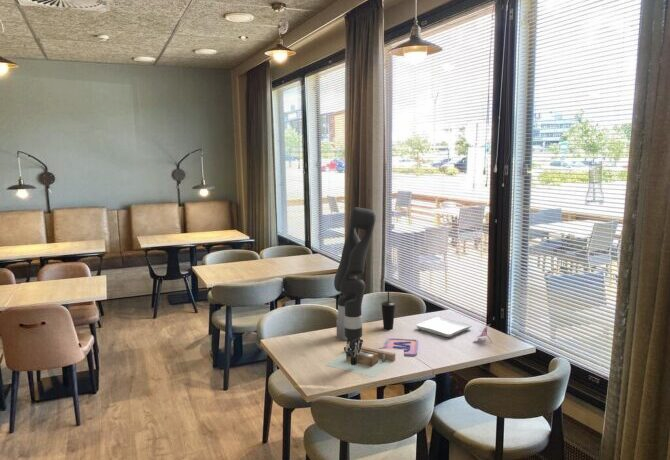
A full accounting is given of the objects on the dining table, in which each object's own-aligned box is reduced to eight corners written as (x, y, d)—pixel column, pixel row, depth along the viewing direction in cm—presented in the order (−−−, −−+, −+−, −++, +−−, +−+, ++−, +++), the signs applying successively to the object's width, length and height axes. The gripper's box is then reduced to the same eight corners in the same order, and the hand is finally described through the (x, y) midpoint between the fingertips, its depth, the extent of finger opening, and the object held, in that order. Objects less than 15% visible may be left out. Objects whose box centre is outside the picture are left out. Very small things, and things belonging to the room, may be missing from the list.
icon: (377, 337, 254) (418, 339, 250) (377, 340, 254) (418, 342, 250) (372, 351, 235) (416, 354, 231) (372, 354, 236) (416, 357, 232)
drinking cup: (391, 331, 264) (391, 294, 261) (378, 329, 268) (378, 292, 265) (398, 327, 270) (398, 290, 267) (385, 325, 274) (385, 288, 271)
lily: (489, 338, 256) (479, 321, 256) (505, 336, 246) (495, 318, 246) (473, 350, 250) (464, 333, 251) (490, 348, 240) (479, 330, 240)
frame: (346, 360, 226) (346, 351, 225) (352, 356, 231) (352, 347, 230) (372, 366, 219) (372, 357, 218) (378, 362, 224) (378, 353, 223)
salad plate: (439, 321, 280) (439, 315, 280) (472, 330, 265) (473, 324, 264) (414, 330, 266) (414, 324, 266) (448, 341, 251) (449, 334, 250)
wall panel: (325, 367, 222) (324, 358, 221) (348, 351, 238) (348, 343, 238) (374, 379, 209) (374, 370, 208) (395, 362, 226) (395, 353, 225)
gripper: (353, 331, 208) (353, 372, 210) (368, 322, 219) (368, 360, 221) (337, 328, 212) (338, 368, 214) (353, 319, 223) (353, 357, 225)
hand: (353, 364), depth 218 cm, fingers closed
